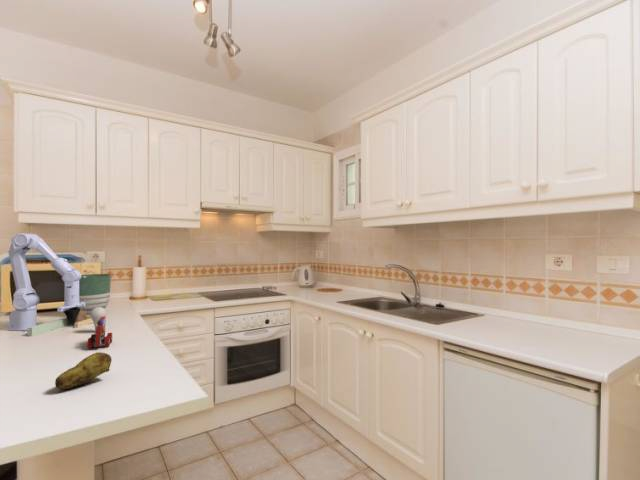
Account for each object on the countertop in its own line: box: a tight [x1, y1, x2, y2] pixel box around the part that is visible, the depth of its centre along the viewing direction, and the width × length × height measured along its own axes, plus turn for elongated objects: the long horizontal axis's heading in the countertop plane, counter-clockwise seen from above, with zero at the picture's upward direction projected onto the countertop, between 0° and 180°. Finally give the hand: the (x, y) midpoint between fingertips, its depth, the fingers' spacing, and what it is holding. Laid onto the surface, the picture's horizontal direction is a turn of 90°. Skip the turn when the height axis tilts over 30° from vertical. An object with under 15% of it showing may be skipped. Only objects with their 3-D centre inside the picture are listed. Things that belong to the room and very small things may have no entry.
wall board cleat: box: [27, 315, 94, 337], centre depth 158 cm, size 10×26×4 cm, turn 176°
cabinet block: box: [67, 308, 87, 323], centre depth 166 cm, size 5×5×7 cm
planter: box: [78, 273, 112, 315], centre depth 189 cm, size 20×20×21 cm
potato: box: [54, 351, 112, 390], centre depth 96 cm, size 8×13×8 cm, turn 122°
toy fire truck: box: [86, 316, 113, 350], centre depth 132 cm, size 7×12×10 cm, turn 23°
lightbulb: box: [90, 307, 108, 331], centre depth 151 cm, size 6×6×11 cm
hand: (71, 324), depth 162 cm, fingers closed
